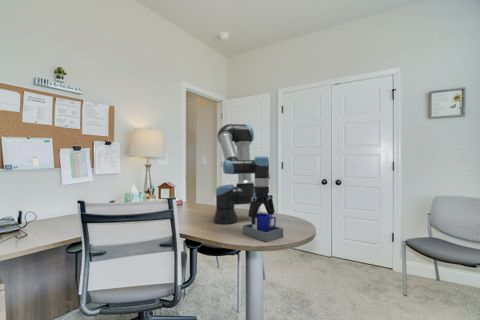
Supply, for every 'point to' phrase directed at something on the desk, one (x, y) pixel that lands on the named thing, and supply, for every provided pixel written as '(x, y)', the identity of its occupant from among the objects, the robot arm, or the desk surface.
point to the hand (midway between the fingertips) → (261, 228)
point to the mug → (264, 222)
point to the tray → (263, 233)
